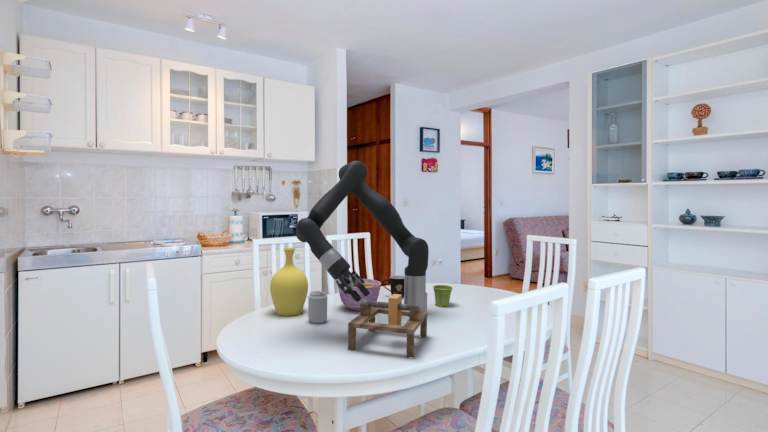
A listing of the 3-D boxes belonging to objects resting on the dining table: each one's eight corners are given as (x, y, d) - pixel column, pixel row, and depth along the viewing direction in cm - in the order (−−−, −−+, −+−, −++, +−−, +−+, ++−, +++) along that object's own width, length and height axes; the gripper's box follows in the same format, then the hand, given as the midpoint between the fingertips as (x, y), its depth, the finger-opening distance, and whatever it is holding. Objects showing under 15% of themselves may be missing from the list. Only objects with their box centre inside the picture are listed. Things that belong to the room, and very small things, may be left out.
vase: (273, 319, 172) (273, 251, 171) (267, 309, 187) (267, 246, 185) (311, 315, 179) (312, 249, 177) (303, 306, 193) (303, 245, 192)
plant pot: (455, 304, 199) (455, 286, 199) (447, 309, 192) (447, 290, 191) (437, 301, 204) (437, 284, 204) (428, 305, 197) (429, 287, 196)
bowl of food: (384, 303, 199) (385, 279, 199) (376, 315, 180) (376, 288, 179) (343, 301, 203) (343, 277, 202) (331, 312, 183) (331, 286, 182)
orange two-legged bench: (388, 329, 144) (388, 297, 143) (393, 324, 150) (393, 293, 149) (396, 330, 143) (396, 298, 142) (401, 325, 149) (401, 294, 148)
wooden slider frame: (348, 349, 140) (348, 307, 139) (370, 329, 161) (370, 293, 160) (412, 357, 133) (413, 314, 133) (426, 336, 154) (427, 298, 154)
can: (323, 324, 166) (323, 294, 165) (305, 323, 168) (305, 293, 167) (329, 319, 173) (329, 290, 173) (312, 318, 175) (312, 289, 174)
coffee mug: (408, 295, 216) (408, 276, 216) (403, 299, 208) (403, 279, 208) (386, 293, 220) (387, 274, 220) (381, 297, 212) (381, 277, 212)
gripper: (333, 259, 145) (364, 295, 142) (348, 254, 158) (377, 286, 155) (319, 273, 146) (349, 309, 144) (335, 267, 160) (363, 299, 157)
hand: (364, 297), depth 149 cm, fingers open, 8 cm apart
